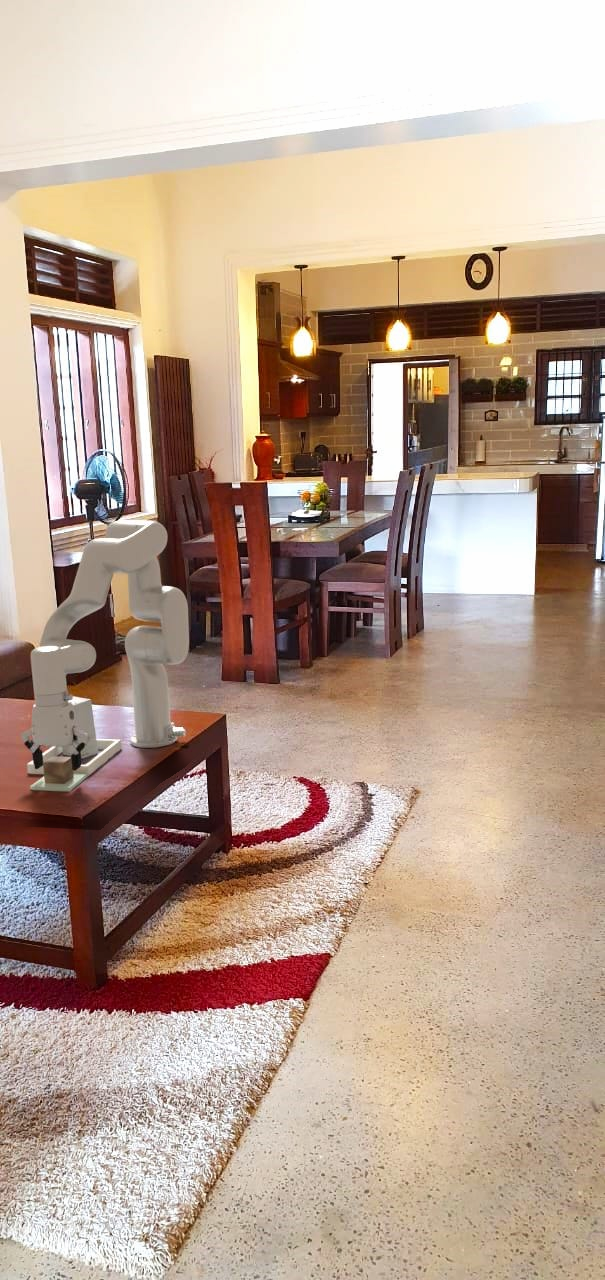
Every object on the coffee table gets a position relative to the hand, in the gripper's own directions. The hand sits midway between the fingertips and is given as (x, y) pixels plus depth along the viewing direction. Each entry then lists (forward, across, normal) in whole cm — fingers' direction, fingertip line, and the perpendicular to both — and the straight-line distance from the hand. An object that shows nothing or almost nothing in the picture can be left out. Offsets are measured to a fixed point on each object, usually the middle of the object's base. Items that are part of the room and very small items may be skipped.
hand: (57, 768), depth 228 cm
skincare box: (+4, +4, -21) cm, 22 cm away
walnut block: (+3, 0, 0) cm, 3 cm away
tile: (+4, 0, 0) cm, 4 cm away
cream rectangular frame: (+4, +3, -16) cm, 17 cm away
